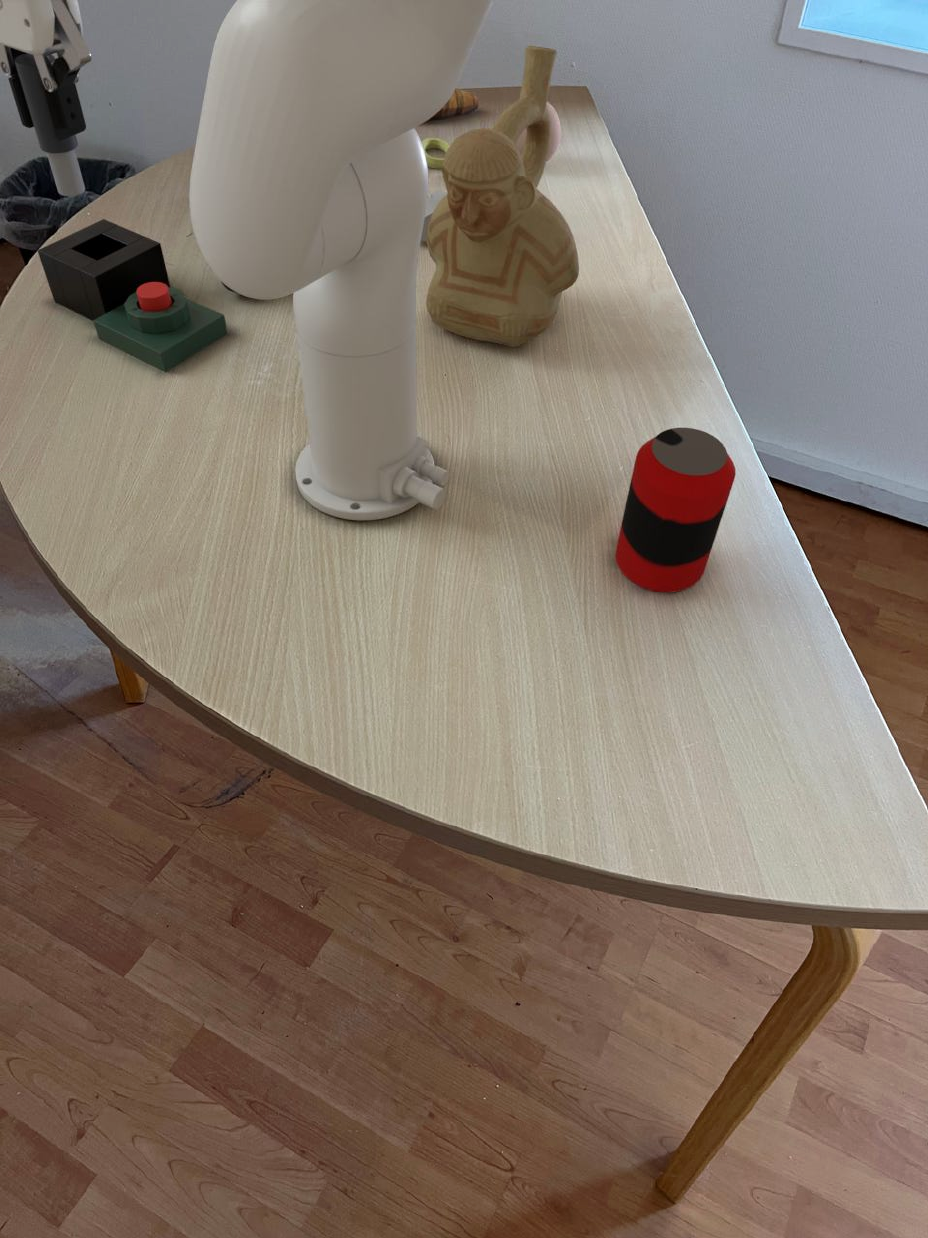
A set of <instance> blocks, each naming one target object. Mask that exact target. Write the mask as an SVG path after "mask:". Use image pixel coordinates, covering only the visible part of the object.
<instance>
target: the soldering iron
mask: <svg viewBox="0 0 928 1238" xmlns="http://www.w3.org/2000/svg"><path fill="white" fill-rule="evenodd" d="M48 57H49V60H50V63H51V66H52V65H53V63H54V61H55V59H56V57H55V56H54V54H51V55H48ZM15 64H16V68H17V71H18V74H19V78H20V81H21V84H22V88H23V91H24V95H25V98H26V101H27V105H28V108H29V111H30V115H31V118H32V121H33V125H34V127H33V128H34V131H35V134H36V138H37V141H38V144H39V148H40V149H41V151H43V152H45V153H46V155H47V159H48V162H49V165H50V170H51V173H52V176H53V179H54V184H55V186H56V189H57V193H58V194H59V195H61V196H63V197H77V196H80V195H82V194H84V193H85V191H86V186H85V182H84V179H83V175H82V172H81V168H80V164H79V160H78V157H77V153H76V149H77V147H78V145H79V143H78V138H77V134H76V135H73V136H71V137H69V138H66V139H64V140H58V139H55V138H54V137H53V134H52V131H51V127H50V124H49V120H48V117H47V113H46V110H45V106H44V103H43V99H42V96H41V92H40V90H42V89H45V87H44V85H43V82H42V79H41V76H40V73H39V70H38V67H37V65H36V62H35V59H34V56H33V55H32V54H29V53H26V54H23V55H20V56H18V57H17V58H16V59H15Z"/></svg>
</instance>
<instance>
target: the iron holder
mask: <svg viewBox="0 0 928 1238" xmlns="http://www.w3.org/2000/svg"><path fill="white" fill-rule="evenodd" d="M37 252H38V257H39V260H40V262H41V265H42V268H43V271H44V274H45V277H46V280H47V284H48V286H49V288H50V289H49V290H50V293H51V295H52V298H53V302H54V303H56V304H58V305H60V306H62V307H64V308H66V309H69V310H70V311H73V312H75V313H76V314H79V315H81V316H83V317H85V318H86V319H89V320H91V321H92V322H94V320H95V319H97V318H99V317H101V316H102V315H104V314H106V313H108V312H110V311H112V310H113V309H115V308H117V307H119V306H121V305H122V304H124V303H125V302H126V300H127V299H128V297H129V296H130V295H132V294H134V293H135V292H136V291H137V288H138V287H139V286H141V285H143V284H145V283H149V282H161V283H164V284H166V285H167V286H168V287H171V284H170V279H169V275H168V271H167V266H166V262H165V258H164V252H163V249H162V244H161V243H160V242H159V241H157V240H155V239H151V238H149V237H147V236H145V235H143V234H140V233H137V232H135V231H132V230H130V229H129V228H125V227H124V226H121V225H118V224H116V223H114V222H112V221H109V220H107V219H105V218H102V219H100V220H98V221H96V222H93V223H92V224H90V225H88V226H86V227H84V228H82V229H79V230H77V231H76V232H75V231H74V232H73V233H71V234H69V235H66V236H65V237H63V238H60V239H59V240H57V241H55V242H52V243H50V244H48V245H46V246H44V247H42V248H39V249H38V250H37Z"/></svg>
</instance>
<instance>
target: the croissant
mask: <svg viewBox="0 0 928 1238" xmlns="http://www.w3.org/2000/svg"><path fill="white" fill-rule="evenodd" d="M478 108H479V99H478V97H477V96H476V95H474V94H473V93H471V92H469V91H465V90H463V89H460V88H457V87H456V88H455V90H454V92H453V94H452V96H451V97H450V99H449V100H448V102H447V103H446V104H445V105H444V106H443V107H442V108H441V110H440V111H438V112H437V113H436V114H435V115H434V116H433V117H431V118H430V119H429V120H442V119H446V118H450V117H455V116H462V115H465V114H469V113H472V112H475V111H476V110H478Z"/></svg>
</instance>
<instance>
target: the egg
mask: <svg viewBox="0 0 928 1238" xmlns="http://www.w3.org/2000/svg"><path fill="white" fill-rule="evenodd" d="M547 108H548V110H549V114H550V127H551V133H550V146H549V151H548V155H547V160H546V163H547V162H548V161H549V160H550V159H552V158H553V156H554V155H555V154H556V152H557V151H558V149H559V146H560V144H561V137H562V126H561V121H560V118H559V115H558V113H557V111H556V110H555V108H554V107H553V105H551V103H550V102H549V101H547ZM526 134H527V130H526V128H525V129H524V131H523V132H522V134H521V135H520V137H519V139H518V141H517V142H516V145H515V146H516V147H517V148H518V150H519V152H520V155H521V157H522V154H523V151H524V147H525V142H526Z"/></svg>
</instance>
